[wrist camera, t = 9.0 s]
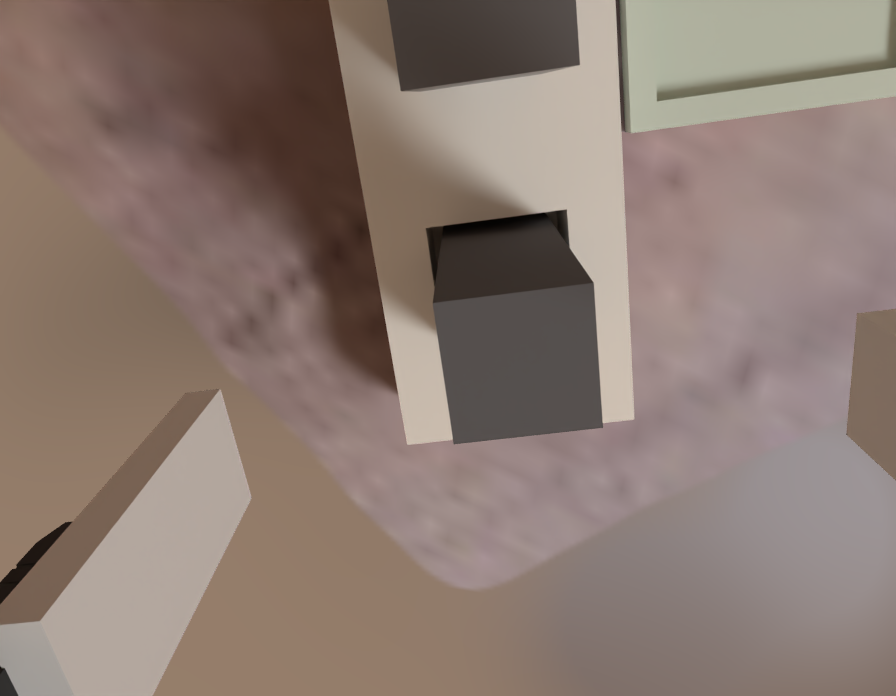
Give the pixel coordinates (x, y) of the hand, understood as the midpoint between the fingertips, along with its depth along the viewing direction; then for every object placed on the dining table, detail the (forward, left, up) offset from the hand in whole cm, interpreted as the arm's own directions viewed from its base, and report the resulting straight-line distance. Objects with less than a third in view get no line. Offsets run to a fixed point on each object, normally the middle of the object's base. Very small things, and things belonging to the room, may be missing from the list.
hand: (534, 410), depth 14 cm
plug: (0, 0, -14) cm, 14 cm away
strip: (-4, 0, -15) cm, 16 cm away
